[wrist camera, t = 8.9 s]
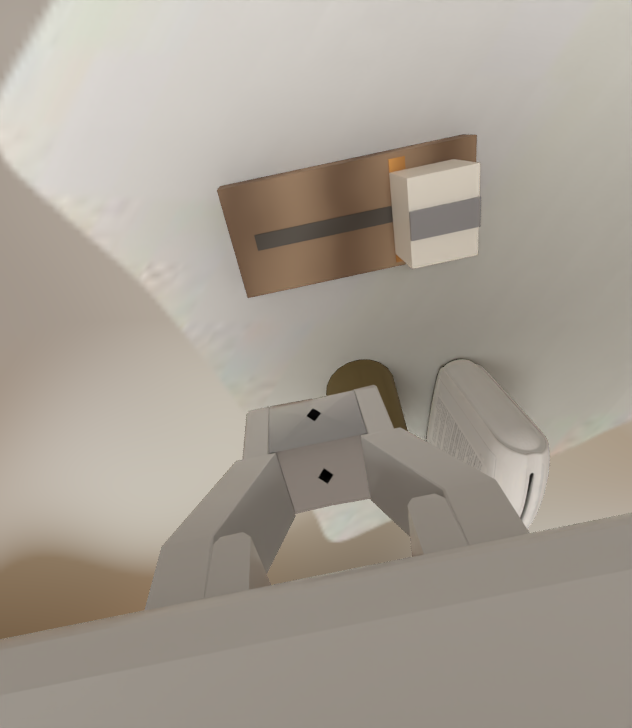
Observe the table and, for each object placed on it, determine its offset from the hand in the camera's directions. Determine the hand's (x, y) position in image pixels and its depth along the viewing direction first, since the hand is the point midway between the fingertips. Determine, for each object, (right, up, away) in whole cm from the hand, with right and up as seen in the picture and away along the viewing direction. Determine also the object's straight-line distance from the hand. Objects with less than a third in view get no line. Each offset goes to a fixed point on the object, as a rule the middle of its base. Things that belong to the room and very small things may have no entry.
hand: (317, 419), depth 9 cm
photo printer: (+12, -2, +28) cm, 31 cm away
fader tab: (+7, +11, +16) cm, 21 cm away
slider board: (+2, +12, +18) cm, 22 cm away
